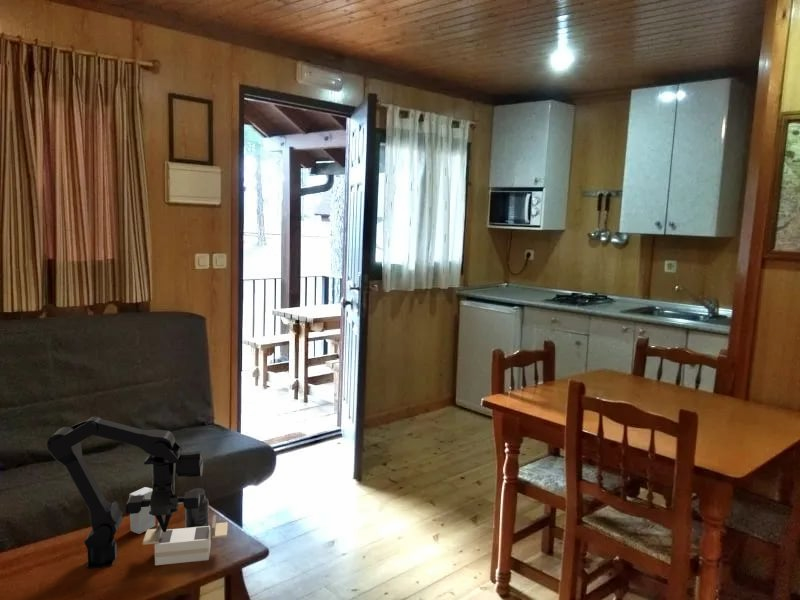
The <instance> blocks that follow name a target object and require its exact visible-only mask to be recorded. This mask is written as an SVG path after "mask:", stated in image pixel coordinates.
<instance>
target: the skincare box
mask: <svg viewBox="0 0 800 600" xmlns="http://www.w3.org/2000/svg"><path fill="white" fill-rule="evenodd" d="M152 492H153V488H151V487H148V486H147V487H146V486H144V487H142V488H140V489H138V490H135V491H133V492H131V493H129V495H128V496H129V498H130V497H131V496H138V495H144V496H145V499H151V494H152ZM129 498H128V499H129ZM149 511H150V508H149V507H141V511H140V512H139V513H135V514H129V521H130V522H129V525H130V531H131V532H133V533H134V534H135V533H136V534H139V535H141V534H142V533H144V532H145V533H146V532H147V529H153V528H154V527H156V517H155V516H152V515H150V514H149Z"/></svg>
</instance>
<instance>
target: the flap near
mask: <svg viewBox="0 0 800 600" xmlns="http://www.w3.org/2000/svg"><path fill="white" fill-rule="evenodd" d="M161 532H162V529H161V526H160V524H159V522H158V521H157V526H156V528H150V529H147V530H146V531H145V534H144V538H143V540H142V545H145V546H146V545H155V543H159V539H160V536H161Z"/></svg>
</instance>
